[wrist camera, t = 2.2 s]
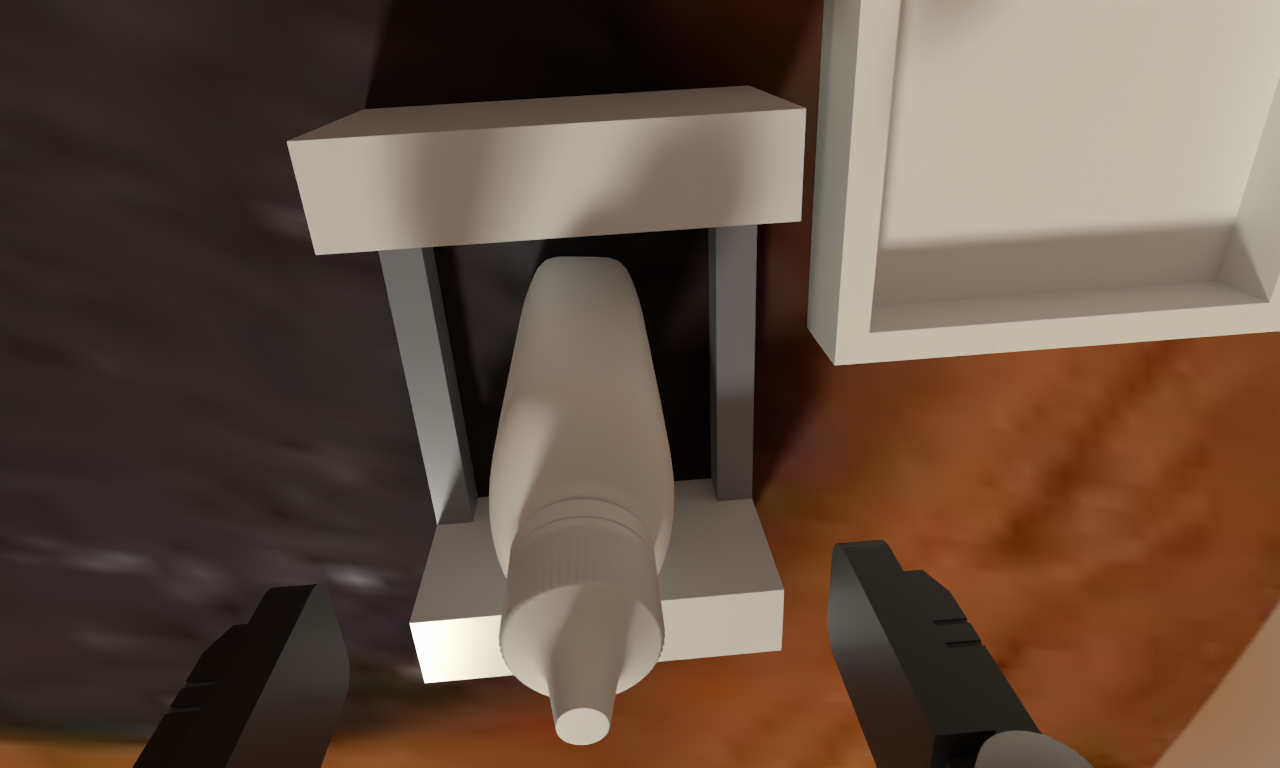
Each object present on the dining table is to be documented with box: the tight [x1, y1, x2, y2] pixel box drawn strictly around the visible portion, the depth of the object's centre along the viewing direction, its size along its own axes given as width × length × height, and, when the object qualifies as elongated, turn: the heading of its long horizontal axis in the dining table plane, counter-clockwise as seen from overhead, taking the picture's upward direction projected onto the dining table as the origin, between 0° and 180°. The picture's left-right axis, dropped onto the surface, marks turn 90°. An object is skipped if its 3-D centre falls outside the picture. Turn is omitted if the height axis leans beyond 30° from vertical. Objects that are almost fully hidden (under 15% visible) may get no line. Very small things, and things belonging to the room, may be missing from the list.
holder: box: [287, 86, 806, 683], centre depth 18 cm, size 13×9×5 cm
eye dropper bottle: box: [489, 257, 674, 745], centre depth 15 cm, size 4×6×12 cm
